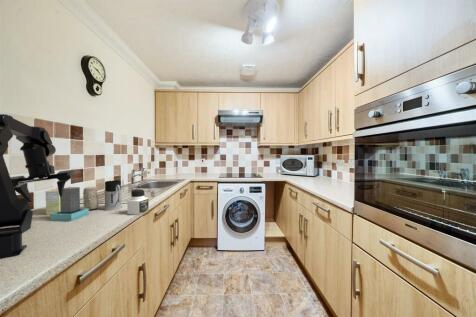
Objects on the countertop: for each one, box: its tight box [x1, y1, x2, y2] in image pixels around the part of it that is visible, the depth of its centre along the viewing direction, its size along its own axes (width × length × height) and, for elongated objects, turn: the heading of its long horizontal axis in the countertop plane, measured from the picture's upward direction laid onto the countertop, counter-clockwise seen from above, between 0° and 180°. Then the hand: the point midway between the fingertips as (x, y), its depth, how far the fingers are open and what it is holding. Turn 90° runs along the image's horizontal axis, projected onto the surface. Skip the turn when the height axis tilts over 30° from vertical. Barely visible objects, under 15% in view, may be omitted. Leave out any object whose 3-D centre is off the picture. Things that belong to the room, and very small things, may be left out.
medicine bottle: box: [126, 188, 150, 216], centre depth 102 cm, size 7×7×12 cm
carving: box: [82, 186, 99, 211], centre depth 108 cm, size 6×8×12 cm
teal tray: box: [50, 208, 89, 222], centre depth 94 cm, size 10×10×3 cm
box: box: [45, 187, 60, 216], centre depth 104 cm, size 10×6×12 cm, turn 17°
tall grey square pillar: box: [60, 186, 81, 214], centre depth 94 cm, size 5×5×13 cm
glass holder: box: [103, 179, 123, 211], centre depth 109 cm, size 9×14×15 cm, turn 49°
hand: (46, 199), depth 79 cm, fingers open, 9 cm apart
